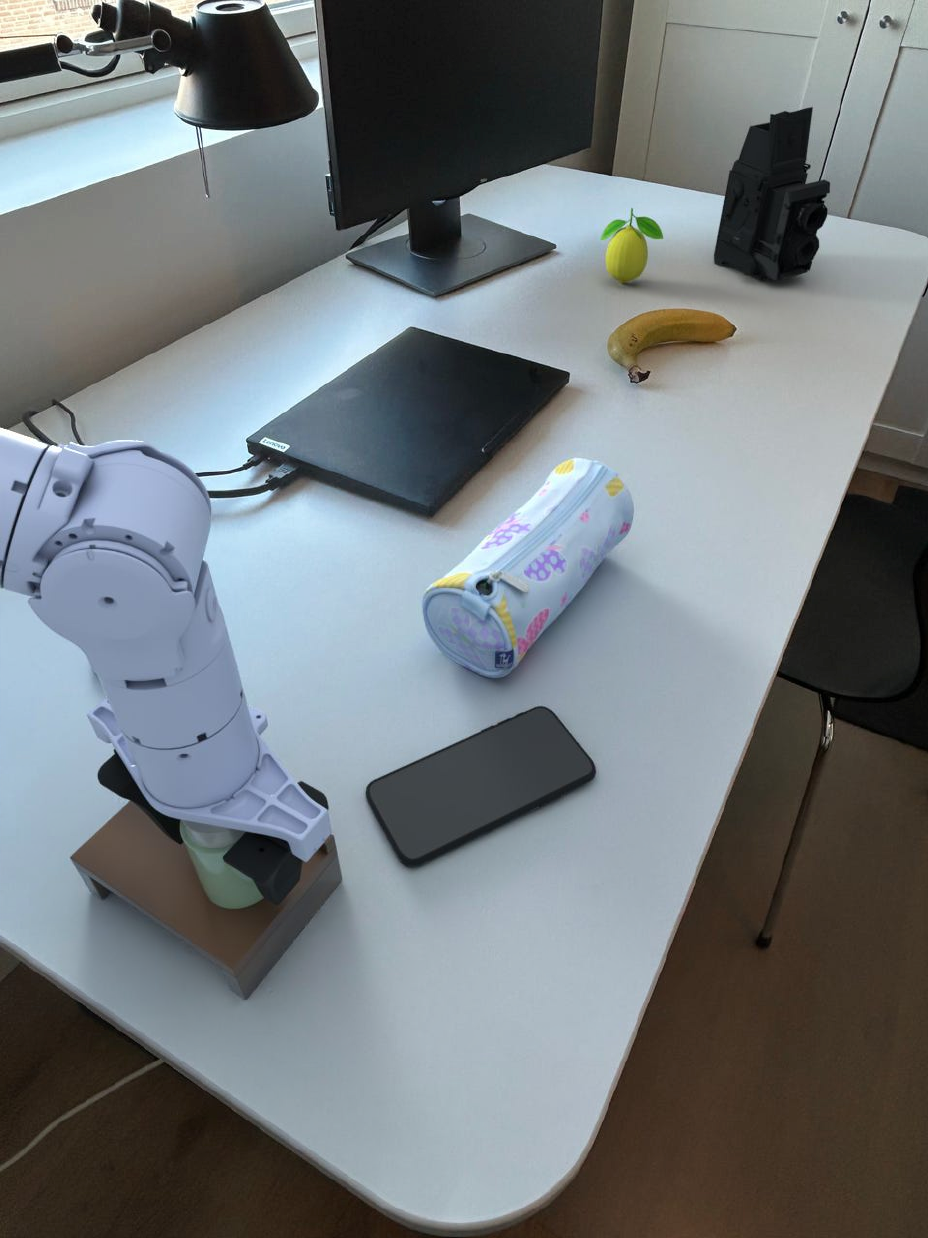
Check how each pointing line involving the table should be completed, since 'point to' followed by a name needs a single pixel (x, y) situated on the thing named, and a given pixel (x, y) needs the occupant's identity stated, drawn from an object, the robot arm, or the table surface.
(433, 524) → the table surface
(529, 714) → the smartphone
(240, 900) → the shaker
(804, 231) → the camera
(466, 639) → the pencil case
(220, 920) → the shelf
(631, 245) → the lemon
